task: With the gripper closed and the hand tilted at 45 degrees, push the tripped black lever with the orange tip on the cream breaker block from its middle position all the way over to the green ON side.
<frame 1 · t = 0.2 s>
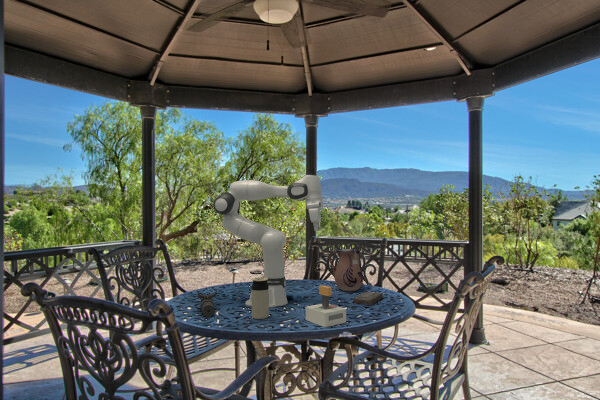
hand: (317, 230, 209), 39 cm above the table, tool pointing down, fingers open, 8 cm apart
laser sight: (207, 312, 197), on the table
box: (368, 302, 217), on the table
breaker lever: (325, 296, 178), point 11 cm above the table, hinge at 0.0°
travel mug: (260, 317, 186), on the table
breaker block: (325, 321, 178), on the table
ceramic pitcher: (346, 290, 245), on the table
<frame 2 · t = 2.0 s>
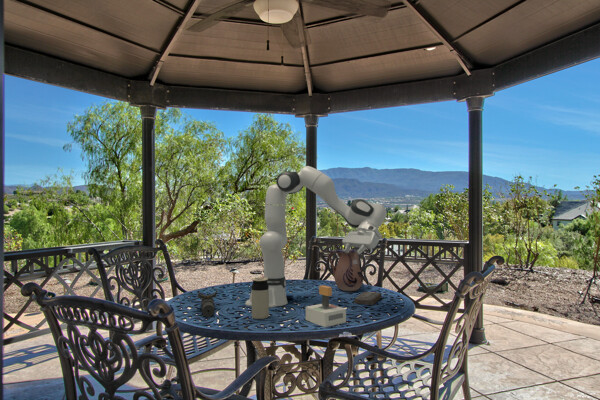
hand: (351, 252, 188), 30 cm above the table, tool tilted 45°, fingers open, 7 cm apart
nothing on the table moved.
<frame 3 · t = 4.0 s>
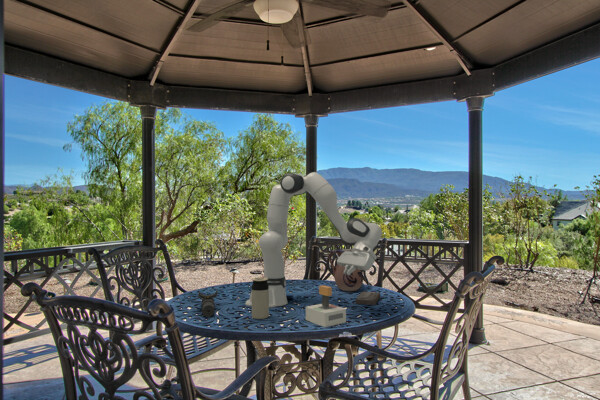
hand: (346, 274, 186), 20 cm above the table, tool tilted 45°, fingers closed
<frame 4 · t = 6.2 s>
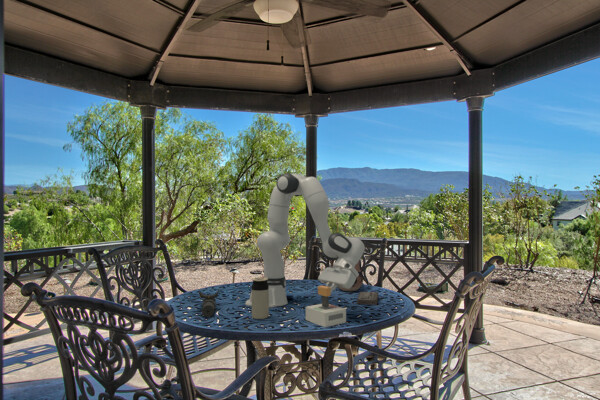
hand: (327, 292, 179), 13 cm above the table, tool tilted 45°, fingers closed, pressing on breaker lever
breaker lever: (324, 296, 178), point 11 cm above the table, hinge at 5.7°, touching gripper
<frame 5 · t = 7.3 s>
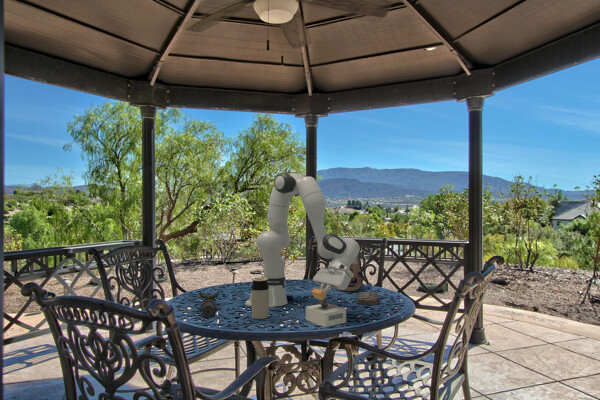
hand: (321, 293, 177), 13 cm above the table, tool tilted 45°, fingers closed, pressing on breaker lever
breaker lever: (321, 298, 177), point 10 cm above the table, hinge at 31.7°, touching gripper
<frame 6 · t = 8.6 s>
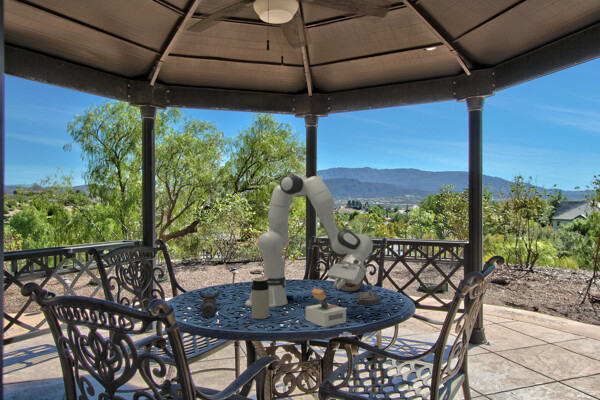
hand: (336, 287, 182), 14 cm above the table, tool tilted 45°, fingers closed
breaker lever: (321, 298, 177), point 10 cm above the table, hinge at 31.9°
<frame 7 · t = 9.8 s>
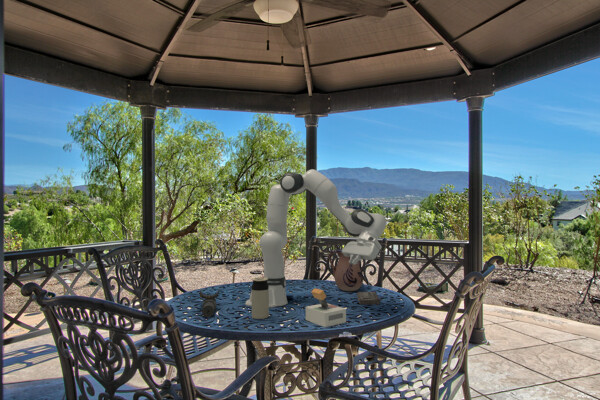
hand: (351, 263, 188), 24 cm above the table, tool tilted 45°, fingers closed
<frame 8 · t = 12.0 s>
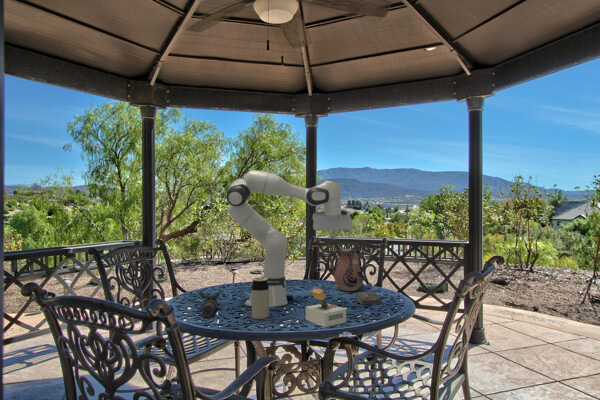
hand: (332, 239, 202), 35 cm above the table, tool pointing down, fingers closed
at the end: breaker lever at +32° (first picture: +0°) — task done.
